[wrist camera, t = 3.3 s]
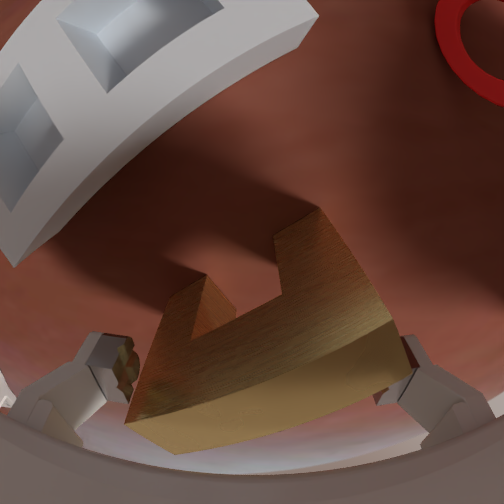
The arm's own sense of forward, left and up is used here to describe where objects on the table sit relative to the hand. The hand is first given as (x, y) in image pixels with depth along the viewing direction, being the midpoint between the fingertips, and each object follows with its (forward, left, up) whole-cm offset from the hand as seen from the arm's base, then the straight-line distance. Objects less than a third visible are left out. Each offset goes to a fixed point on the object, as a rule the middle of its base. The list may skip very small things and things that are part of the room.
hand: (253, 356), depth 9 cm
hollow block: (0, +11, -5) cm, 12 cm away
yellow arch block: (0, 0, -5) cm, 5 cm away
